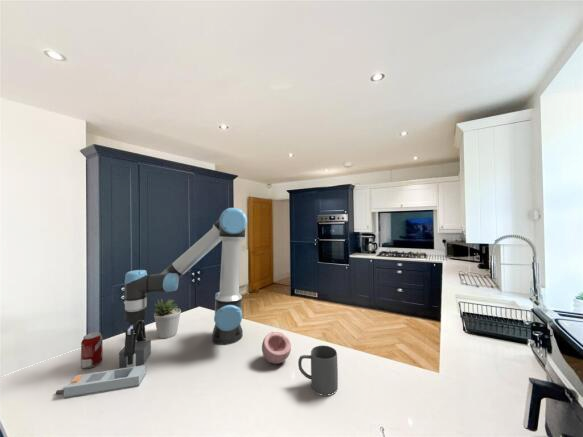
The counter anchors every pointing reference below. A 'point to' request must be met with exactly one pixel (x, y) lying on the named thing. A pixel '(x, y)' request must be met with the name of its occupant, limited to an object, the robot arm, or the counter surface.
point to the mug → (322, 369)
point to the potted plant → (166, 319)
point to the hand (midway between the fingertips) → (135, 364)
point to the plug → (137, 354)
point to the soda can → (91, 350)
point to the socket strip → (104, 381)
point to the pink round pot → (276, 347)
